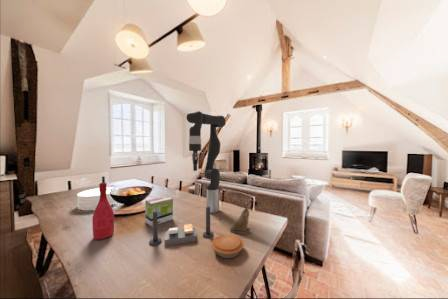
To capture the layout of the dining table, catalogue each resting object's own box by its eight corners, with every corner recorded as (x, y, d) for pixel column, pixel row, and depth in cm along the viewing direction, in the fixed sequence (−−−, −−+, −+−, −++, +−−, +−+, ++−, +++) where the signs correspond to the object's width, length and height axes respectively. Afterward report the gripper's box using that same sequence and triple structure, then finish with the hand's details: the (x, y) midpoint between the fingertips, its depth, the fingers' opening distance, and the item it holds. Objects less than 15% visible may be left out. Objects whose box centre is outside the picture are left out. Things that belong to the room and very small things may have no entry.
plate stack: (92, 199, 155) (92, 187, 155) (124, 198, 158) (124, 187, 158) (67, 211, 127) (67, 197, 127) (106, 210, 131) (106, 195, 130)
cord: (162, 238, 91) (161, 209, 91) (160, 244, 85) (160, 213, 85) (150, 239, 89) (149, 210, 89) (148, 246, 84) (147, 215, 83)
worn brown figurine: (250, 235, 99) (256, 206, 97) (247, 240, 94) (254, 210, 92) (231, 227, 103) (237, 200, 102) (228, 231, 98) (235, 202, 96)
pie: (249, 257, 76) (249, 247, 75) (215, 264, 71) (215, 253, 71) (236, 239, 90) (236, 230, 90) (208, 244, 86) (208, 234, 86)
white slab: (177, 229, 93) (177, 227, 93) (177, 233, 87) (177, 230, 87) (169, 230, 92) (169, 228, 92) (168, 234, 86) (168, 231, 86)
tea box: (151, 227, 103) (151, 203, 103) (144, 222, 110) (144, 200, 110) (173, 219, 114) (173, 198, 114) (166, 215, 121) (165, 195, 121)
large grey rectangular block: (195, 232, 97) (194, 226, 97) (196, 241, 88) (196, 233, 88) (166, 236, 93) (166, 229, 93) (164, 245, 84) (164, 238, 84)
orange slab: (191, 225, 95) (192, 223, 95) (192, 232, 89) (192, 230, 89) (184, 226, 94) (184, 224, 94) (184, 233, 88) (184, 231, 88)
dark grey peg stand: (212, 231, 98) (212, 204, 98) (214, 237, 92) (214, 208, 92) (202, 233, 97) (202, 205, 96) (203, 238, 91) (203, 209, 90)
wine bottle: (90, 242, 87) (89, 185, 86) (95, 233, 96) (94, 182, 95) (113, 237, 91) (112, 183, 91) (115, 229, 100) (114, 180, 99)
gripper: (202, 143, 100) (202, 172, 100) (199, 143, 113) (199, 168, 113) (189, 143, 98) (189, 172, 98) (188, 143, 111) (188, 169, 111)
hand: (195, 170), depth 106 cm, fingers closed
